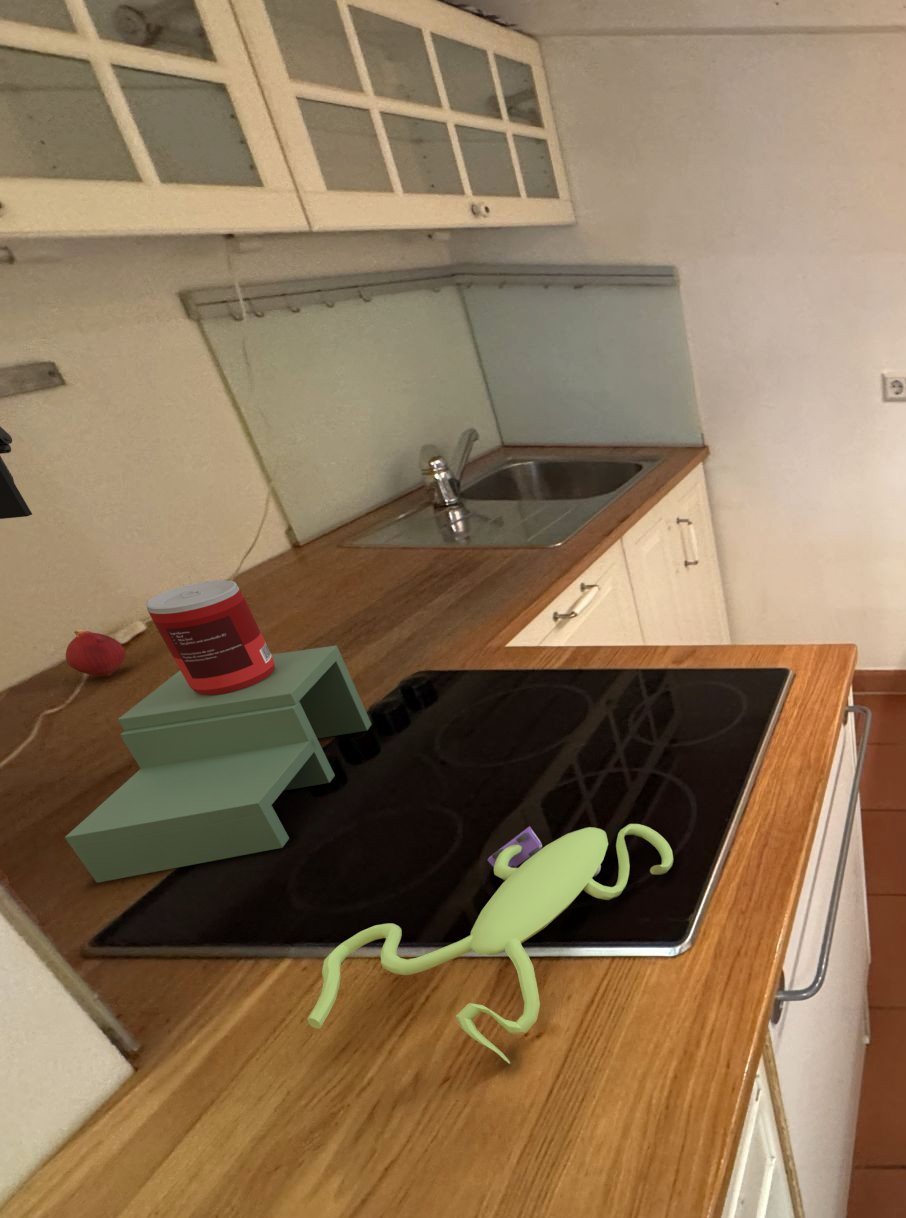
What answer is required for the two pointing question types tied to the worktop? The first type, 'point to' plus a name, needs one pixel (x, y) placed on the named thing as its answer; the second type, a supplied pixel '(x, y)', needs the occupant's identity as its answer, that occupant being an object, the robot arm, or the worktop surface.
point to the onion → (94, 653)
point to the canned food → (212, 636)
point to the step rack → (219, 767)
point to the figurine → (508, 915)
